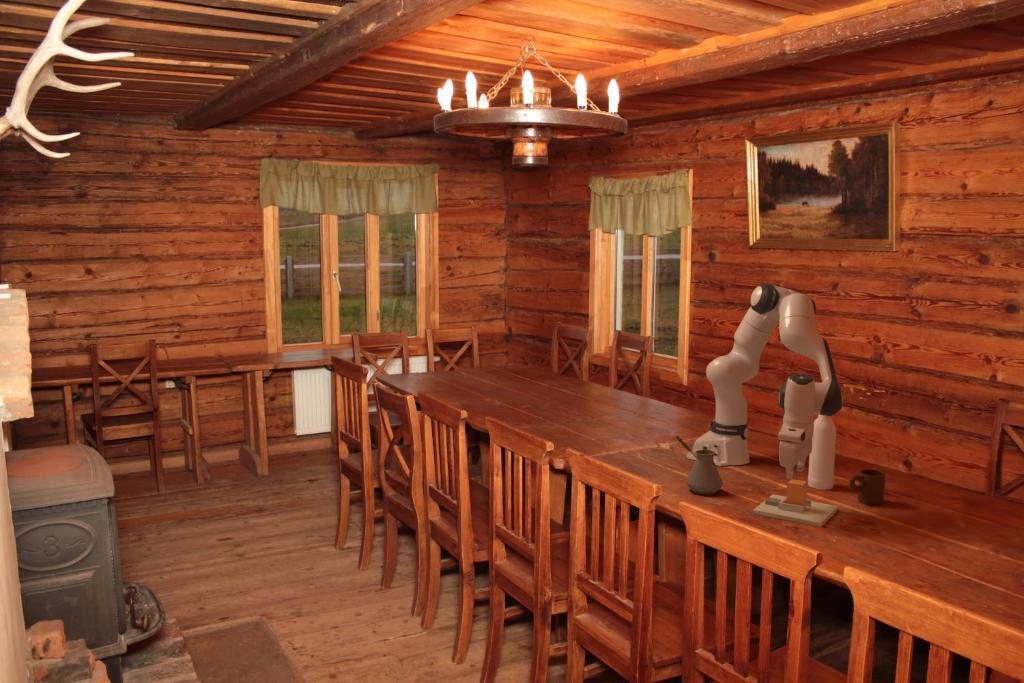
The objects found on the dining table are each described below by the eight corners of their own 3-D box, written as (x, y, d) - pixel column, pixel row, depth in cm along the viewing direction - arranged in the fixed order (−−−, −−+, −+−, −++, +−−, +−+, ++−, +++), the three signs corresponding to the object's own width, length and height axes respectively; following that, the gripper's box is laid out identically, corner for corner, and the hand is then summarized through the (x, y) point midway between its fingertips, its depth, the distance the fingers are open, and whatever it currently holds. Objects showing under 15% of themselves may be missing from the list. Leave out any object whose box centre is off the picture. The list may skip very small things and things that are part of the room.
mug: (856, 508, 273) (858, 478, 272) (840, 500, 280) (842, 471, 279) (889, 504, 277) (891, 474, 276) (872, 497, 284) (874, 468, 283)
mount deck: (753, 513, 268) (753, 503, 268) (772, 498, 283) (773, 488, 282) (821, 526, 257) (821, 516, 256) (837, 509, 272) (838, 499, 271)
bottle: (834, 490, 290) (839, 399, 286) (809, 489, 292) (814, 398, 288) (831, 483, 298) (836, 394, 294) (806, 482, 300) (810, 393, 295)
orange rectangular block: (786, 508, 269) (787, 482, 268) (790, 504, 273) (792, 479, 272) (801, 511, 267) (802, 485, 265) (805, 507, 270) (807, 481, 269)
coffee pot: (729, 493, 287) (731, 447, 285) (701, 498, 282) (703, 452, 280) (687, 476, 306) (688, 433, 304) (660, 480, 301) (661, 437, 299)
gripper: (798, 421, 276) (795, 464, 279) (776, 435, 260) (773, 481, 262) (819, 424, 273) (816, 468, 275) (798, 438, 256) (795, 485, 258)
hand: (795, 474), depth 268 cm, fingers open, 8 cm apart
